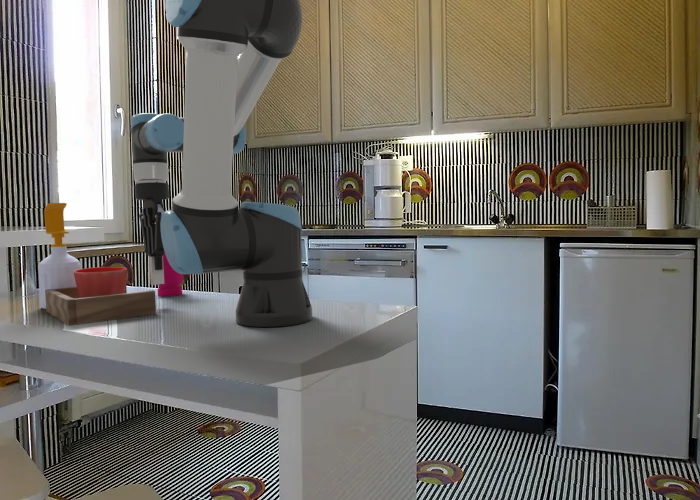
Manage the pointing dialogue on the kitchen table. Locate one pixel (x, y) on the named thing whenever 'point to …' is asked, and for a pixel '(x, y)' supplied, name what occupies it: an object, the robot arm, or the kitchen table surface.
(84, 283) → the flower pot
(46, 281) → the soap bottle
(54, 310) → the tray
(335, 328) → the kitchen table surface
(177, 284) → the pepper mill
